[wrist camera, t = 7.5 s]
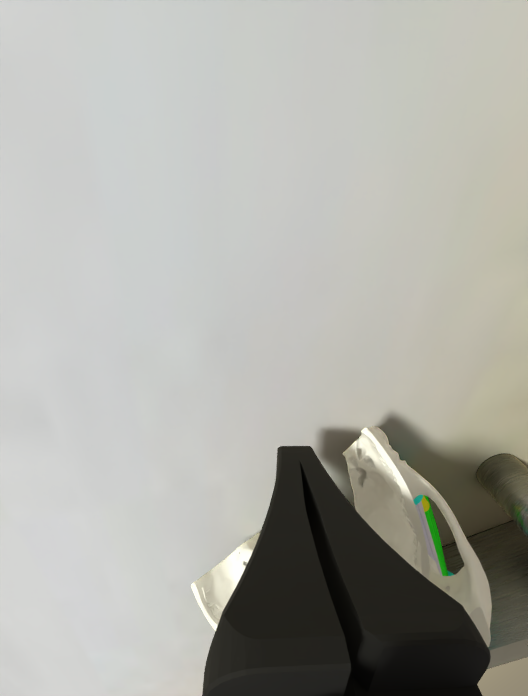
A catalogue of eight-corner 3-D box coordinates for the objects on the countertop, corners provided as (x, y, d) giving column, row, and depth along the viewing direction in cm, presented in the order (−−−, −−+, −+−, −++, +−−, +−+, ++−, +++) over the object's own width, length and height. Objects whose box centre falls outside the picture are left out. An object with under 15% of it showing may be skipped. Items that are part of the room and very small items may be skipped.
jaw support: (367, 653, 19) (302, 844, 11) (282, 520, 23) (190, 585, 15) (535, 548, 15) (626, 711, 7) (401, 415, 20) (365, 426, 12)
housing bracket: (534, 438, 16) (645, 525, 12) (556, 524, 19) (652, 619, 15) (200, 579, 20) (186, 686, 15) (262, 632, 23) (266, 735, 18)
